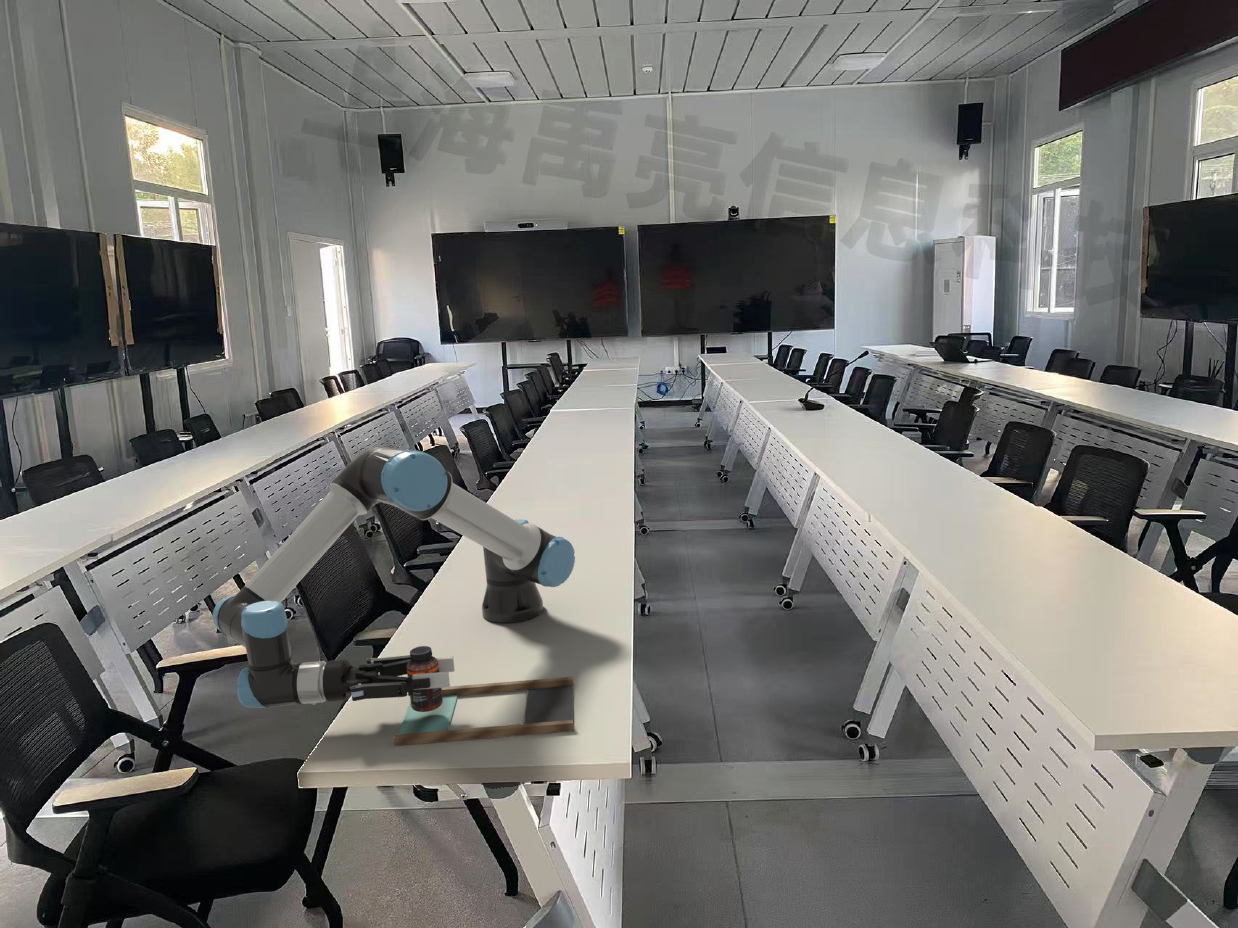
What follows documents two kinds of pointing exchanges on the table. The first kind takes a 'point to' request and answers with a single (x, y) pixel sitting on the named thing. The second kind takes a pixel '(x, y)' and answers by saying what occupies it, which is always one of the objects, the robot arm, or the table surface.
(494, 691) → the channel track
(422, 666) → the supplement bottle
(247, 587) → the robot arm
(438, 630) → the table surface
